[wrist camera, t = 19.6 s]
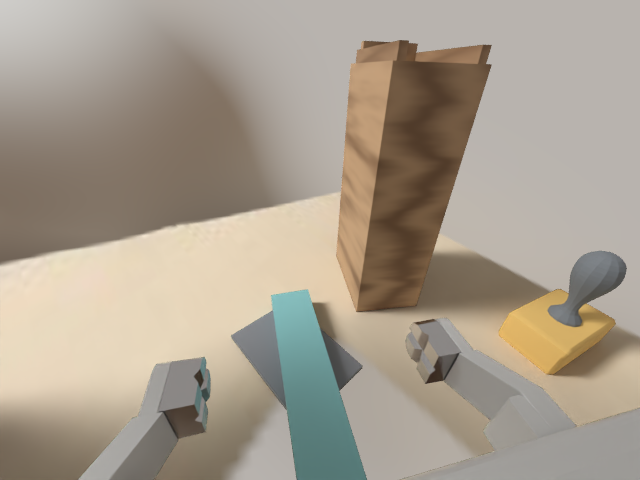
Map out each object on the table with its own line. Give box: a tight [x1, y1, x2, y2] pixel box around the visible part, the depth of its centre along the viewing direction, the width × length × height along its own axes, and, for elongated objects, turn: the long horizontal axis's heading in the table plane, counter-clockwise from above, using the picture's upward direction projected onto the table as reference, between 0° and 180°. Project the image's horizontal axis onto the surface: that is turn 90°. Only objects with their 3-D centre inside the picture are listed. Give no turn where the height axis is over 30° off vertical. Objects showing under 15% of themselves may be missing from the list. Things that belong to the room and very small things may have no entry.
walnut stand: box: [336, 40, 491, 312], centre depth 31 cm, size 8×12×28 cm, turn 9°
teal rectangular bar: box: [271, 290, 367, 480], centre depth 25 cm, size 4×20×2 cm, turn 14°
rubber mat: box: [231, 311, 362, 410], centre depth 28 cm, size 8×12×1 cm, turn 43°
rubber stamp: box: [499, 251, 627, 374], centre depth 27 cm, size 10×6×12 cm, turn 116°
